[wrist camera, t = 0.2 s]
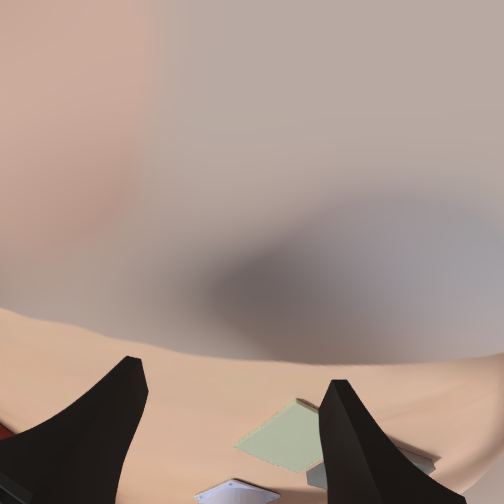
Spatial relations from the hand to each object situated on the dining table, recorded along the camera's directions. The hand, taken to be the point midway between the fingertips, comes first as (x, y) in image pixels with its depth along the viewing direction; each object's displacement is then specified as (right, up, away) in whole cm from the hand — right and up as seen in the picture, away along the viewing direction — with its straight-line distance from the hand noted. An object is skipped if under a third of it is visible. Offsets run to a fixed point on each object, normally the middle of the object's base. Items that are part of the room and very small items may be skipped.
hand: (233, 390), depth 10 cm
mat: (+5, -14, +14) cm, 20 cm away
